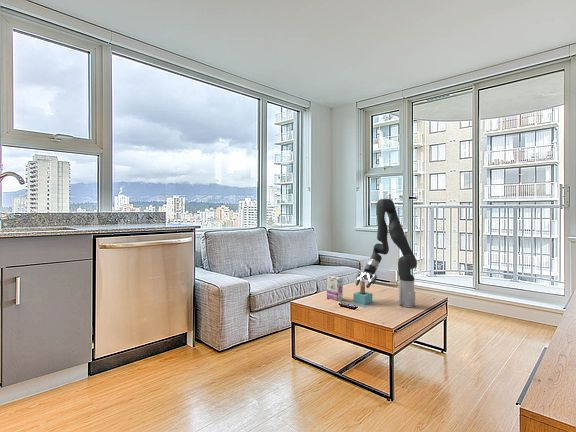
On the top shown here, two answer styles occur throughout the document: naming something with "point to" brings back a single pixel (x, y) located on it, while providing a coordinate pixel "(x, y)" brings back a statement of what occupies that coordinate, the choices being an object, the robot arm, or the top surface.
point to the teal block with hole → (362, 298)
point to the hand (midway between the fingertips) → (361, 286)
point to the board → (363, 305)
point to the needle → (362, 287)
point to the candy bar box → (334, 288)
